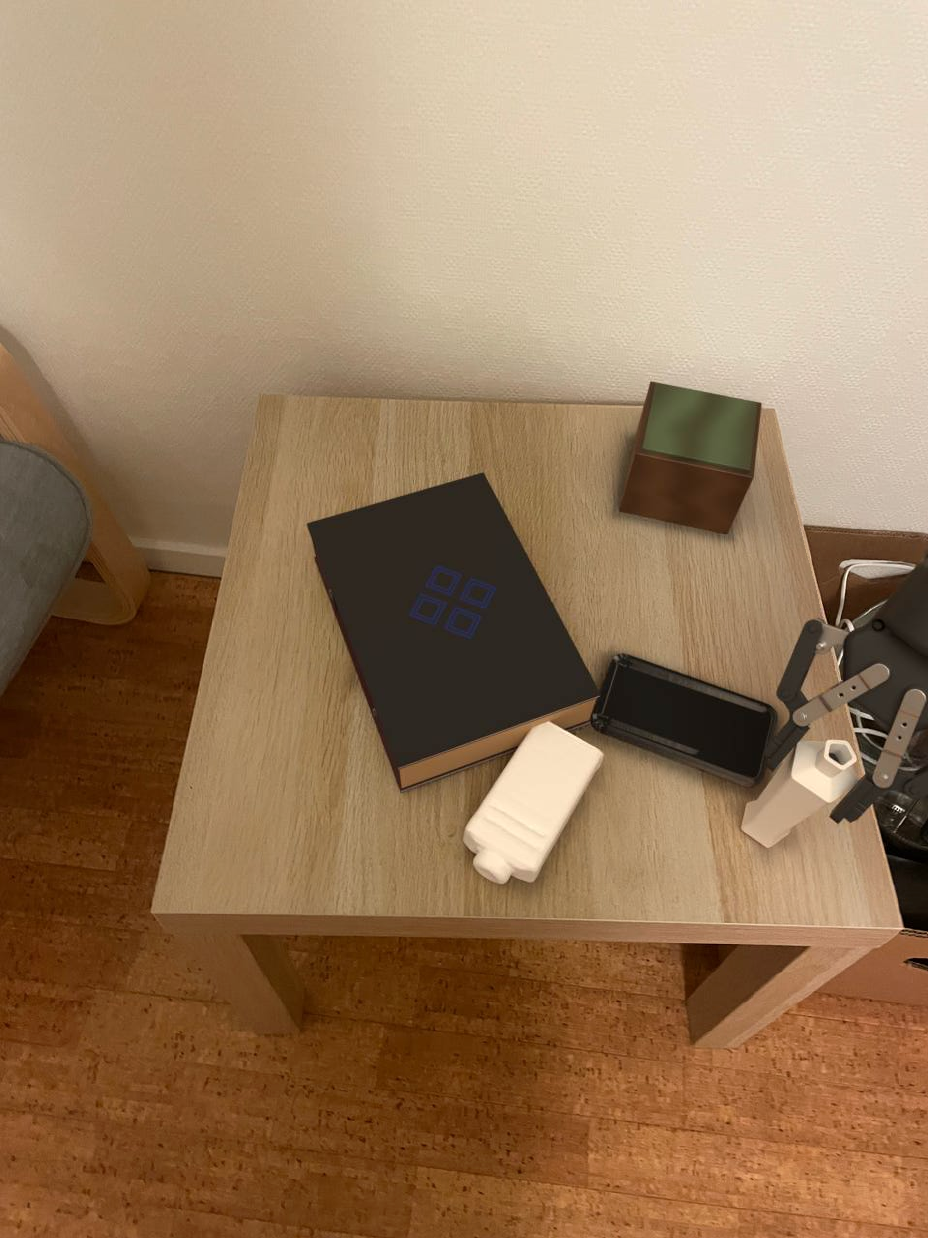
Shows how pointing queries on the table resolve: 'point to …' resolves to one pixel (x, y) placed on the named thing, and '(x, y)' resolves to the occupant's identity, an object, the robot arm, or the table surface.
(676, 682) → the phone
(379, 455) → the table surface
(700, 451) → the stand
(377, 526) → the book
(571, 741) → the white bottle
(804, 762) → the cream faceted bottle shape
